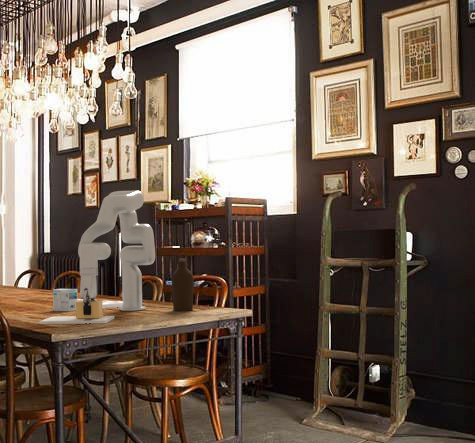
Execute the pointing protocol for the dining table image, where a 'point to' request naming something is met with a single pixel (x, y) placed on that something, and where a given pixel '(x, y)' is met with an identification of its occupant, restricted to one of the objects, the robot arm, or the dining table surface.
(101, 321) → the white flat panel
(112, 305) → the holder
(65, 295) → the light bulb box
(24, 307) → the dining table surface
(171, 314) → the dining table surface
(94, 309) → the tan rectangular block
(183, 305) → the olive oil
